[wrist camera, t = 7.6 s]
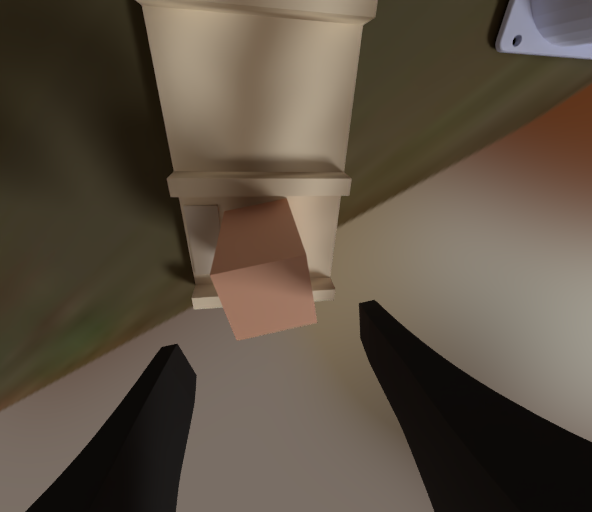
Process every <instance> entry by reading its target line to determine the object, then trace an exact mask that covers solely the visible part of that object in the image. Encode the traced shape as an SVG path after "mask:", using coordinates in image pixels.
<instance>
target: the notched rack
mask: <svg viewBox="0 0 592 512" xmlns="http://www.w3.org/2000/svg"><path fill="white" fill-rule="evenodd" d="M136 1H137V2H138V3H139V4H141V5H142V9H143V14H144V19H145V24H146V30H147V35H148V40H149V45H150V50H151V56H152V61H153V66H154V71H155V76H156V82H157V87H158V92H159V97H160V102H161V108H162V113H163V118H164V123H165V128H166V134H167V139H168V144H169V149H170V154H171V159H172V165H173V170H174V172H173V173H172V174H171V175H170V176H169V177H168V178H167V182H168V187H169V192H170V197H179V201H180V206H181V211H182V217H183V222H184V227H185V232H186V237H187V243H188V248H189V253H190V258H191V263H192V269H193V274H194V279H195V284H196V285H195V289H194V292H193V295H192V302H193V307H194V309H205V308H206V309H207V308H222V307H223V306H222V304H221V301H220V299H219V297H218V294H217V292H216V289H215V287H214V285H213V282H212V280H211V277H210V272H211V267H212V263H213V258H214V254H215V250H216V245H217V241H218V237H219V232H220V228H221V223H222V219H223V215H224V211H227V210H232V209H237V208H242V207H247V206H252V205H257V204H261V203H266V202H271V201H276V200H281V199H286V198H287V201H288V203H289V206H290V209H291V212H292V215H293V218H294V221H295V224H296V226H297V229H298V232H299V235H300V238H301V241H302V244H303V247H304V249H305V252H306V256H307V262H308V268H309V274H310V280H311V286H312V292H313V299H314V301H327V300H334V296H335V287H334V285H333V283H332V280H331V278H330V275H331V268H332V260H333V252H334V244H335V236H336V229H337V222H338V214H339V206H340V198H341V196H349V193H350V187H351V180H352V179H351V178H350V177H349V176H348V175H347V174H345V173H344V167H345V160H346V152H347V144H348V137H349V129H350V121H351V113H352V106H353V98H354V90H355V82H356V75H357V67H358V59H359V52H360V44H361V36H362V28H363V25H364V24H365V23H367V22H369V21H370V20H372V19H373V18H375V15H376V8H377V2H378V0H136Z"/></svg>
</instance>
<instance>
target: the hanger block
mask: <svg viewBox="0 0 592 512" xmlns="http://www.w3.org/2000/svg"><path fill="white" fill-rule="evenodd" d="M210 277H211V280H212V282H213V285H214V287H215V289H216V292H217V294H218V297H219V299H220V301H221V304H222V306H223V309H224V311H225V313H226V316H227V318H228V321H229V323H230V325H231V328H232V330H233V333H234V335H235V337H236V340H237V341H239V340H243V339H248V338H252V337H256V336H261V335H265V334H269V333H274V332H278V331H283V330H288V329H292V328H296V327H301V326H305V325H310V324H314V323H317V317H316V311H315V305H314V299H313V292H312V286H311V280H310V274H309V268H308V262H307V256H306V252H305V249H304V247H303V244H302V241H301V238H300V235H299V232H298V229H297V226H296V224H295V221H294V218H293V215H292V212H291V209H290V206H289V203H288V201H287V198H286V199H281V200H276V201H271V202H266V203H261V204H257V205H252V206H247V207H242V208H237V209H232V210H227V211H224V215H223V219H222V223H221V228H220V232H219V237H218V241H217V245H216V250H215V254H214V258H213V263H212V267H211V272H210Z"/></svg>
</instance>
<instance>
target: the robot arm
mask: <svg viewBox="0 0 592 512" xmlns="http://www.w3.org/2000/svg"><path fill="white" fill-rule="evenodd" d="M514 37H515V38H516V41H515V44H514V45H513V44H512V43H513V39H514ZM495 47H496V50H497V51H498V52H503V53H515V54H528V55H541V56H553V57H566V58H579V59H591V60H592V0H509V3H508V6H507V9H506V12H505V15H504V18H503V21H502V24H501V27H500V30H499V33H498V36H497V39H496V43H495ZM359 313H360V314H359V315H360V338H361V341H362V344H363V346H364V349H365V352H366V355H367V357H368V360H369V362H370V365H371V367H372V369H373V371H374V373H375V375H376V377H377V378H378V381H379V383H380V385H381V387H382V389H383V390H384V393H385V395H386V396H387V399H388V401H389V402H390V405H391V407H392V409H393V411H394V413H395V415H396V417H397V418H398V421H399V423H400V425H401V427H402V429H403V432H404V434H405V437H406V439H407V442H408V444H409V447H410V449H411V452H412V454H413V457H414V459H415V462H416V464H417V467H418V470H419V472H420V475H421V477H422V480H423V483H424V485H425V487H426V490H427V493H428V496H429V498H430V501H431V503H432V506H433V509H434V512H592V442H590V441H588V440H586V439H583V438H582V437H579V436H577V435H575V434H573V433H571V432H569V431H567V430H565V429H563V428H561V427H559V426H557V425H555V424H553V423H551V422H550V421H548V420H546V419H544V418H542V417H540V416H538V415H536V414H534V413H533V412H531V411H529V410H527V409H525V408H524V407H522V406H520V405H518V404H516V403H515V402H513V401H511V400H509V399H508V398H505V397H504V396H502V395H500V394H499V393H497V392H495V391H494V390H492V389H490V388H489V387H487V386H486V385H484V384H482V383H480V382H479V381H477V380H476V379H474V378H473V377H471V376H470V375H468V374H467V373H465V372H463V371H462V370H461V369H459V368H458V367H456V366H455V365H453V364H452V363H450V362H449V361H448V360H446V359H445V358H443V357H442V356H441V355H439V354H438V353H436V352H435V351H434V350H433V349H431V348H430V347H429V346H427V345H426V344H425V343H423V342H422V341H421V340H420V339H419V338H417V337H416V336H415V335H413V334H412V333H411V332H410V331H409V330H407V329H406V328H405V327H404V326H403V325H402V324H400V323H399V322H398V321H397V320H396V319H395V318H394V317H393V316H391V315H390V314H389V313H388V312H387V311H386V310H385V309H384V308H383V307H382V306H381V305H380V304H379V303H377V302H376V301H375V300H372V301H368V302H363V303H359ZM195 391H196V374H195V372H194V370H193V369H192V367H191V365H190V364H189V362H188V361H187V359H186V357H185V355H184V354H183V352H182V350H181V349H180V347H179V346H178V344H174V345H169V346H165V347H162V348H161V349H160V350H159V351H158V353H157V354H156V355H155V357H154V358H153V360H152V361H151V362H150V364H149V365H148V366H147V368H146V369H145V371H144V372H143V373H142V375H141V376H140V378H139V379H138V381H137V382H136V383H135V385H134V386H133V387H132V388H131V390H130V391H129V392H128V394H127V395H126V396H125V398H124V399H123V401H122V402H121V403H120V404H119V406H118V407H117V408H116V410H115V411H114V412H113V413H112V415H111V416H110V417H109V418H108V420H107V421H106V422H105V423H104V425H103V426H102V427H101V429H100V430H99V431H98V432H97V433H96V435H95V436H94V437H93V438H92V440H91V441H90V442H89V443H88V445H87V446H86V447H85V448H84V449H83V450H82V451H81V453H80V454H79V455H78V456H77V457H76V458H75V460H73V462H72V463H71V464H70V465H69V466H68V467H67V468H66V470H65V471H64V472H63V473H62V474H61V475H60V476H59V477H58V478H57V479H56V481H55V482H54V483H53V484H52V485H51V486H50V487H49V488H48V489H47V490H46V491H45V492H44V493H43V494H42V495H41V496H40V497H39V498H38V499H37V500H36V501H35V502H34V503H33V504H32V505H31V506H30V507H29V508H28V510H27V511H26V512H176V505H177V496H178V487H179V480H180V474H181V468H182V464H183V459H184V453H185V449H186V444H187V439H188V434H189V429H190V423H191V419H192V413H193V408H194V403H195Z"/></svg>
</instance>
